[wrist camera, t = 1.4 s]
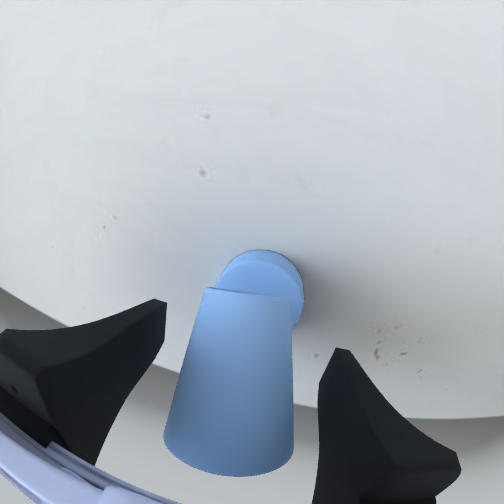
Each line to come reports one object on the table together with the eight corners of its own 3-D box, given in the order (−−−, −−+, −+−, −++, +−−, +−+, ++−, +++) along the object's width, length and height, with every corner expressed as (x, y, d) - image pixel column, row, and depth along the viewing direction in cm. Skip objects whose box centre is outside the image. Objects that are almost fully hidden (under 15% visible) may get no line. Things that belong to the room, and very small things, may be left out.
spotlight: (297, 352, 17) (315, 241, 14) (283, 505, 7) (335, 383, 5) (216, 340, 17) (218, 231, 15) (152, 478, 8) (105, 340, 6)
